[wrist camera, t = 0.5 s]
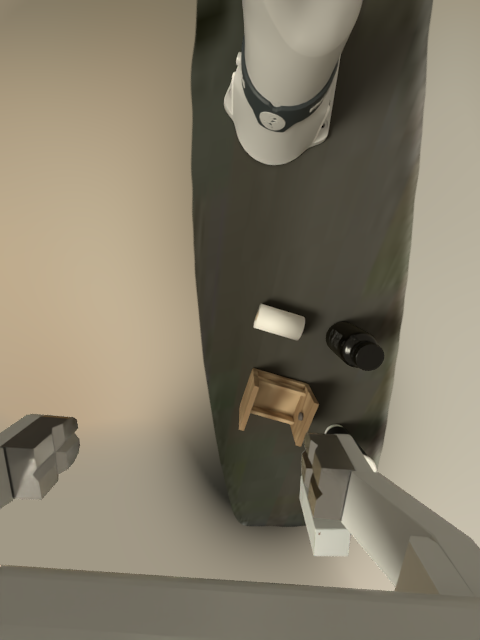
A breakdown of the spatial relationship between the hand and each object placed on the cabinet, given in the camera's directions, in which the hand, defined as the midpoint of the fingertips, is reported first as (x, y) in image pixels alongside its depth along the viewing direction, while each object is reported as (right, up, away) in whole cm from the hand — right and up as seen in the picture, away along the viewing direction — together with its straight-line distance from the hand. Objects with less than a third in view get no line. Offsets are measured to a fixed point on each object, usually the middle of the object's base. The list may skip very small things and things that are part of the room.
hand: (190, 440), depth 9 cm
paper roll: (+9, +4, +40) cm, 41 cm away
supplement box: (+20, -38, +52) cm, 67 cm away
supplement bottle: (+23, +1, +43) cm, 49 cm away
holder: (+9, -13, +46) cm, 49 cm away
